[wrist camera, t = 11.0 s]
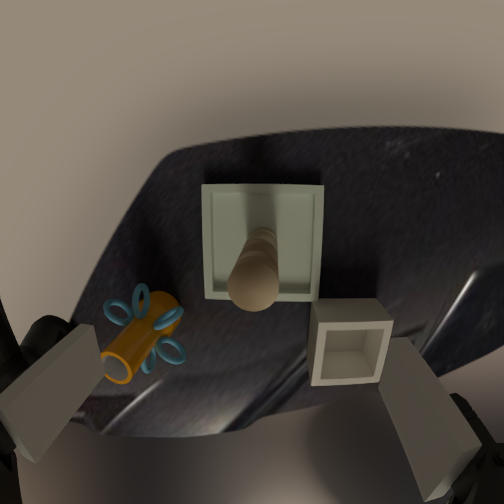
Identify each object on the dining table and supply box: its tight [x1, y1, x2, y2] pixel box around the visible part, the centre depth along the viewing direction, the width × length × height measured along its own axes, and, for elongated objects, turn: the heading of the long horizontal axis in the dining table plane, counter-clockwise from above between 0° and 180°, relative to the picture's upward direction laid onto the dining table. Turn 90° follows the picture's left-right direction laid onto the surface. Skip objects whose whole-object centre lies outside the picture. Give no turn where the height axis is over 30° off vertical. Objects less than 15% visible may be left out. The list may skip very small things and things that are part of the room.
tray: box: [202, 184, 324, 302], centre depth 36 cm, size 14×14×2 cm
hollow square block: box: [306, 298, 394, 386], centre depth 36 cm, size 9×9×7 cm
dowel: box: [227, 227, 279, 311], centre depth 28 cm, size 4×4×16 cm
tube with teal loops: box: [100, 283, 186, 384], centre depth 33 cm, size 12×10×15 cm
